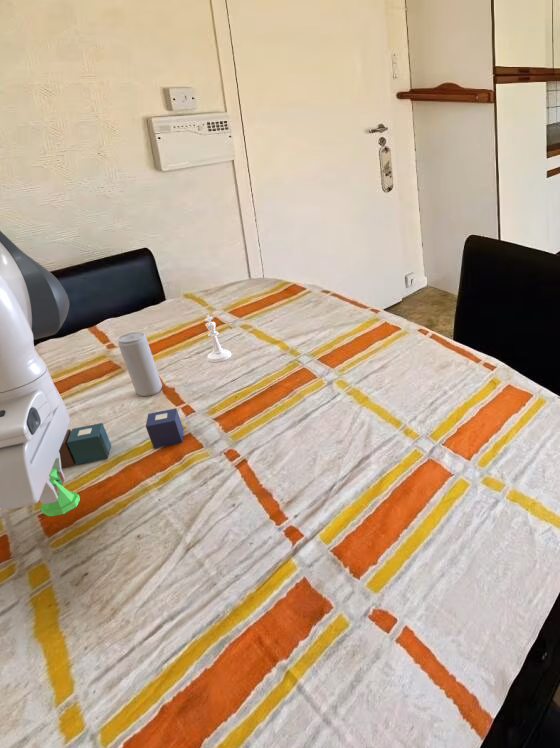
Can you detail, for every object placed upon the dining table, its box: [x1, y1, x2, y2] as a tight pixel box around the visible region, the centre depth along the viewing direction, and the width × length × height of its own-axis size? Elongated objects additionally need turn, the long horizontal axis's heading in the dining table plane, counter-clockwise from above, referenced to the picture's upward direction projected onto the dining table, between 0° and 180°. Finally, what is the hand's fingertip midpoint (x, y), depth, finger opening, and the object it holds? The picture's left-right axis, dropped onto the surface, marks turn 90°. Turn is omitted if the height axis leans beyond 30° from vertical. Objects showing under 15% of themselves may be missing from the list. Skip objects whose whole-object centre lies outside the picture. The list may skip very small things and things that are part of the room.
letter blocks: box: [59, 408, 184, 469], centre depth 106 cm, size 21×4×5 cm, turn 112°
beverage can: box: [117, 331, 163, 397], centre depth 122 cm, size 5×5×12 cm
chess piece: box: [204, 314, 232, 363], centre depth 136 cm, size 5×5×10 cm
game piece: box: [39, 468, 81, 517], centre depth 80 cm, size 4×4×6 cm
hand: (54, 492), depth 80 cm, fingers closed on game piece, 2 cm apart
